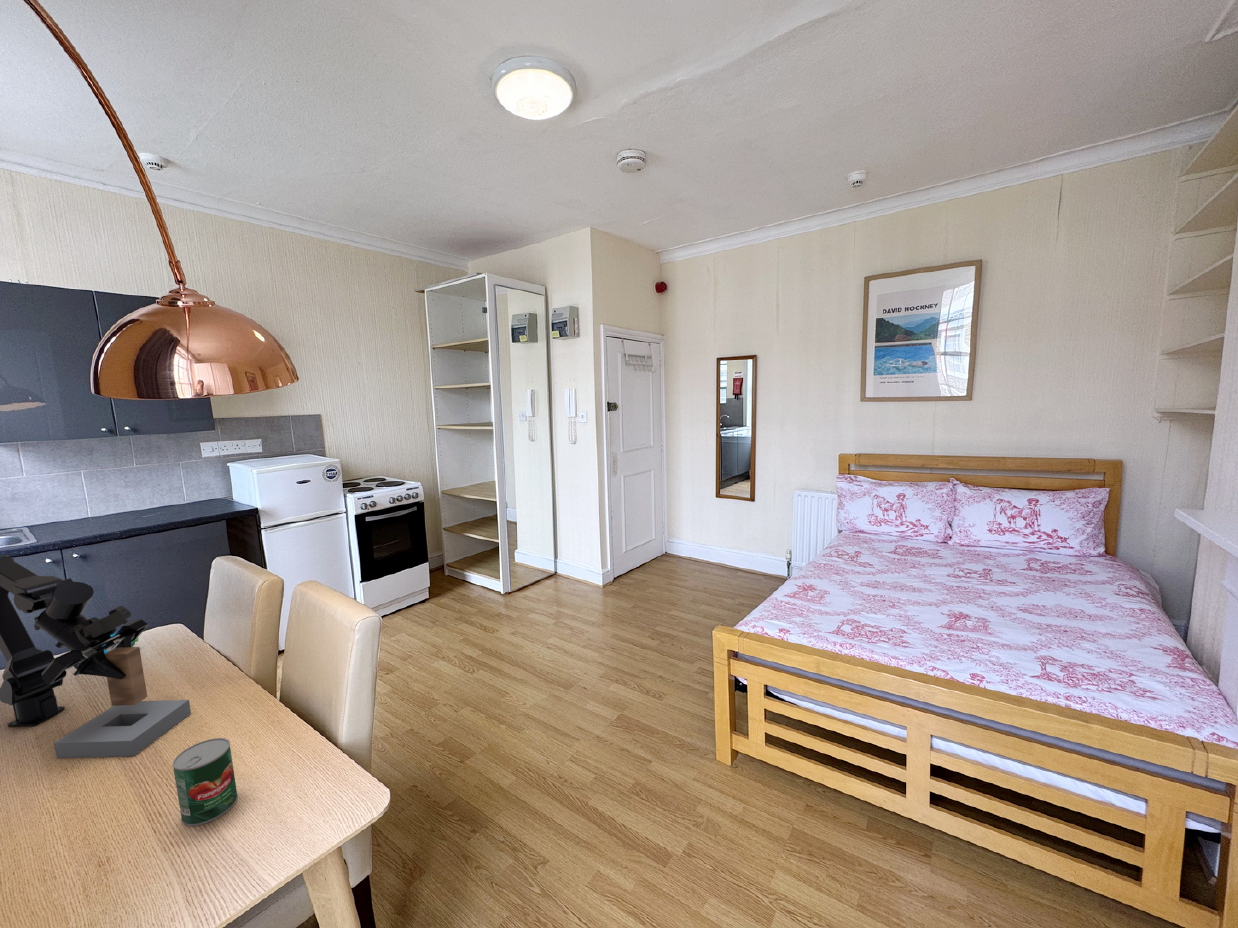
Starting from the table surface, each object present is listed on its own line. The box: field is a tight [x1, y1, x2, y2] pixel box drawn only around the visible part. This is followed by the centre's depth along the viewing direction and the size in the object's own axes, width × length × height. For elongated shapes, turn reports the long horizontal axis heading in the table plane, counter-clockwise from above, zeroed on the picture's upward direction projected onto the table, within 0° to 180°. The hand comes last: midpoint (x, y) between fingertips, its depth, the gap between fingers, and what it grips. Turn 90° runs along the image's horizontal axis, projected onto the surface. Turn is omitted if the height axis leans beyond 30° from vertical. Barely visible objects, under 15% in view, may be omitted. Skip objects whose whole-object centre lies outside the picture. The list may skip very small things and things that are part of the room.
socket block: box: [53, 699, 192, 759], centre depth 110 cm, size 16×14×4 cm
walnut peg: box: [105, 646, 148, 707], centre depth 110 cm, size 5×3×12 cm, turn 92°
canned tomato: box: [171, 737, 239, 827], centre depth 89 cm, size 8×8×11 cm
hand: (131, 673), depth 110 cm, fingers closed on walnut peg, 3 cm apart
